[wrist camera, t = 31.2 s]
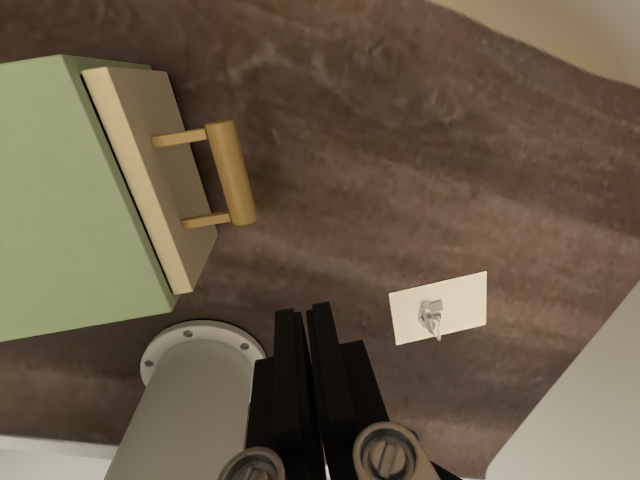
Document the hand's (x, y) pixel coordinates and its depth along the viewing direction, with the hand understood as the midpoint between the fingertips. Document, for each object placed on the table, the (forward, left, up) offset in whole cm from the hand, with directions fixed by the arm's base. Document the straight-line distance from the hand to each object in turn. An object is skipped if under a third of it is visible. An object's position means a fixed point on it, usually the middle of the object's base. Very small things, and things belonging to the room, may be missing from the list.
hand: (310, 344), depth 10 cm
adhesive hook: (-16, -12, -19) cm, 28 cm away
